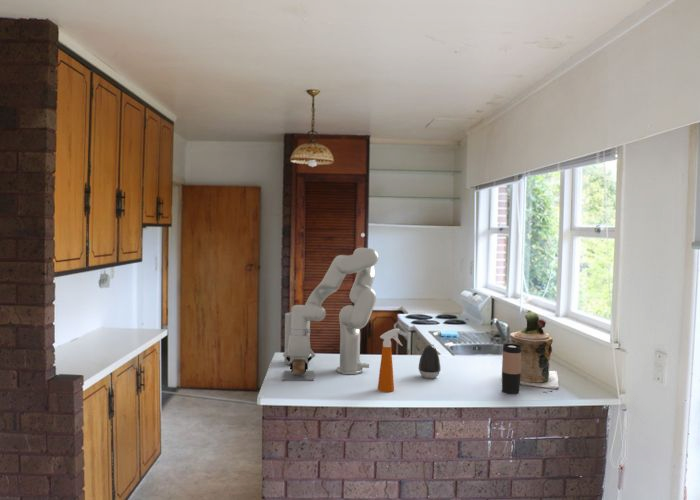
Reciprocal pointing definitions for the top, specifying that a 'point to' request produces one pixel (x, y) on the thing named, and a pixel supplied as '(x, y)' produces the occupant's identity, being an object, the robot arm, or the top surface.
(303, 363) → the walnut block
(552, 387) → the cookie jar
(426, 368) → the black egg ornament
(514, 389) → the travel mug
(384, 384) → the spray bottle
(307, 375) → the slate coaster
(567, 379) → the top surface
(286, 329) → the cylinder vase
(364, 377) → the top surface
